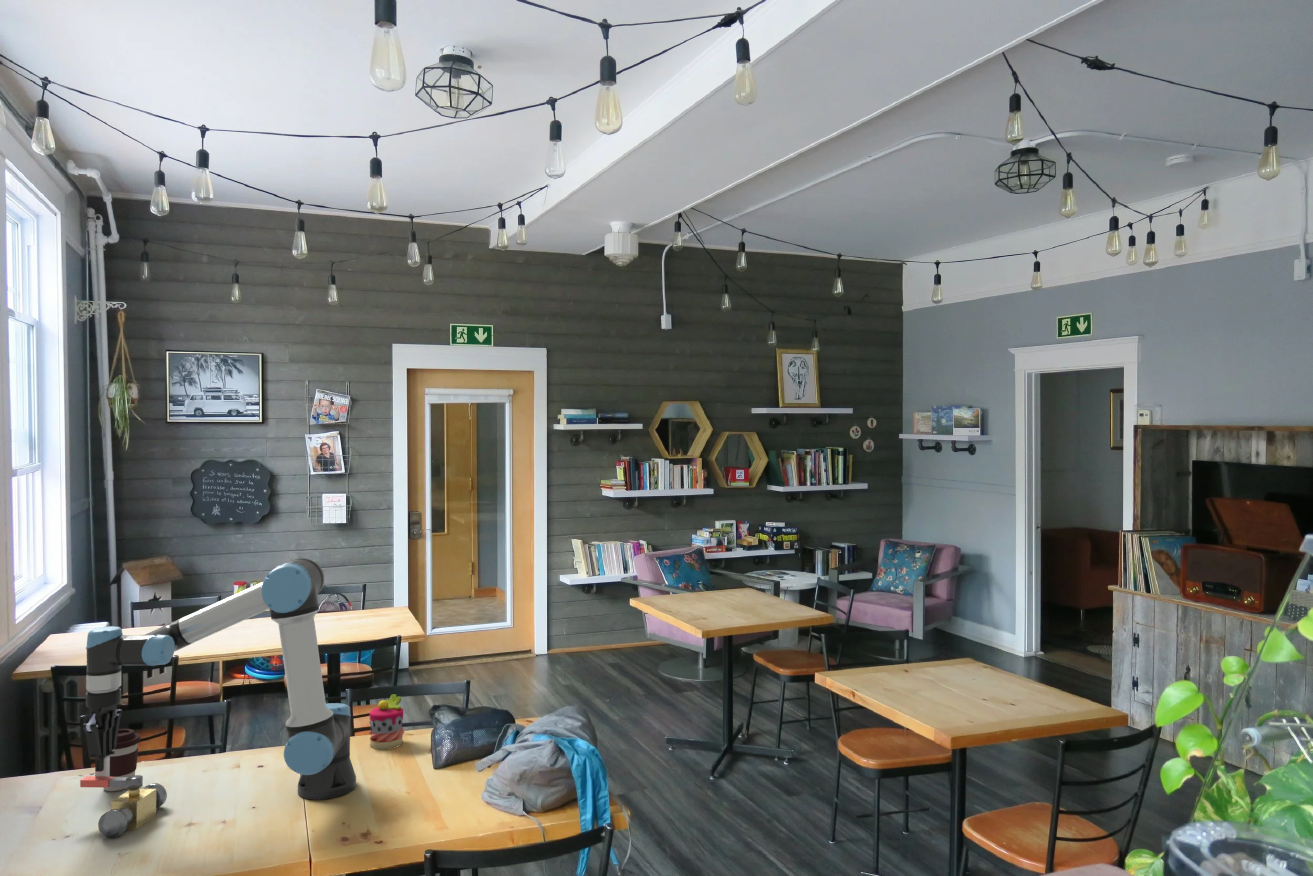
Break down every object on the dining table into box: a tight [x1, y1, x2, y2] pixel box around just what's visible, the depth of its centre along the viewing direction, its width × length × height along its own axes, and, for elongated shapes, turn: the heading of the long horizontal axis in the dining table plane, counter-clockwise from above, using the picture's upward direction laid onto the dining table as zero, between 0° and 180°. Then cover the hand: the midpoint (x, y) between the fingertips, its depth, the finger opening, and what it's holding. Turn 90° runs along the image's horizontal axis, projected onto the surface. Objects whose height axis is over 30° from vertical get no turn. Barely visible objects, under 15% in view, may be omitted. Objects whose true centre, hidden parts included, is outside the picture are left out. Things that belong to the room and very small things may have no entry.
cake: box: [368, 694, 405, 751], centre depth 271 cm, size 10×11×15 cm
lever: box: [79, 774, 144, 791], centre depth 214 cm, size 15×4×2 cm, turn 89°
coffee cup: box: [103, 728, 141, 792], centre depth 236 cm, size 10×10×15 cm
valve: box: [97, 782, 168, 839], centre depth 214 cm, size 20×6×9 cm, turn 179°
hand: (102, 782), depth 217 cm, fingers closed
